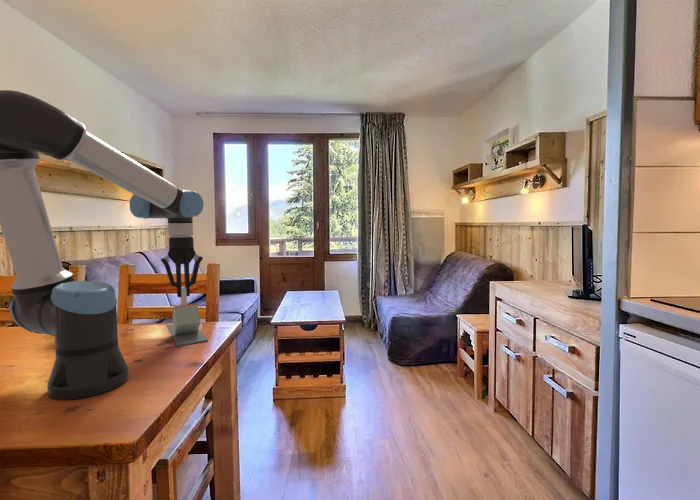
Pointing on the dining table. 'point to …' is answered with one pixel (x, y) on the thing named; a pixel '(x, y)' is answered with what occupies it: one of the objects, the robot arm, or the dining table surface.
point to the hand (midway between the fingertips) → (183, 306)
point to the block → (186, 319)
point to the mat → (187, 337)
